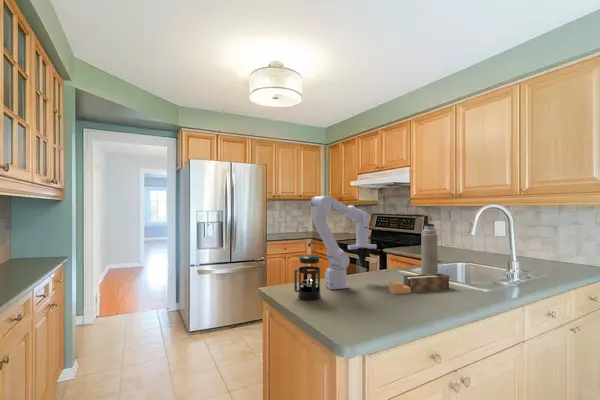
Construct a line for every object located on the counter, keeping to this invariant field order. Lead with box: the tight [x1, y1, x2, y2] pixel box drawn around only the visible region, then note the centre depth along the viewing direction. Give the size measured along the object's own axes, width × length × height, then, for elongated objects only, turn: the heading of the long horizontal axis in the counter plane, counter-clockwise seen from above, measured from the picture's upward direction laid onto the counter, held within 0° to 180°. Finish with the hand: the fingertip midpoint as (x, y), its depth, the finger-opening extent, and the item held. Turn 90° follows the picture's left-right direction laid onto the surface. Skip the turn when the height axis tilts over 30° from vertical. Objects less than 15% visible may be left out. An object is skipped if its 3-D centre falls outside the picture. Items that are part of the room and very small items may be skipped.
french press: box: [293, 241, 321, 302], centre depth 128 cm, size 12×9×23 cm
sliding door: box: [405, 276, 433, 287], centre depth 139 cm, size 16×3×5 cm, turn 104°
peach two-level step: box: [388, 281, 412, 295], centre depth 135 cm, size 8×4×4 cm, turn 99°
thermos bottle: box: [420, 223, 439, 274], centre depth 164 cm, size 8×8×28 cm
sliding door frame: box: [403, 272, 450, 293], centre depth 140 cm, size 20×6×6 cm, turn 104°
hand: (362, 263), depth 151 cm, fingers closed
